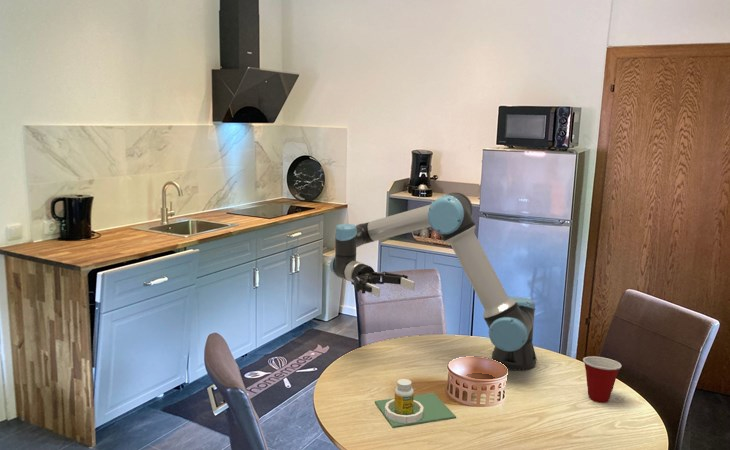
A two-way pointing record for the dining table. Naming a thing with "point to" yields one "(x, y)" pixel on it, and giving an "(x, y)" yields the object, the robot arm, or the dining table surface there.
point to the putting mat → (431, 411)
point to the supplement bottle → (404, 397)
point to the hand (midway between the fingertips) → (396, 289)
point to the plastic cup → (600, 377)
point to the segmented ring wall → (404, 418)
